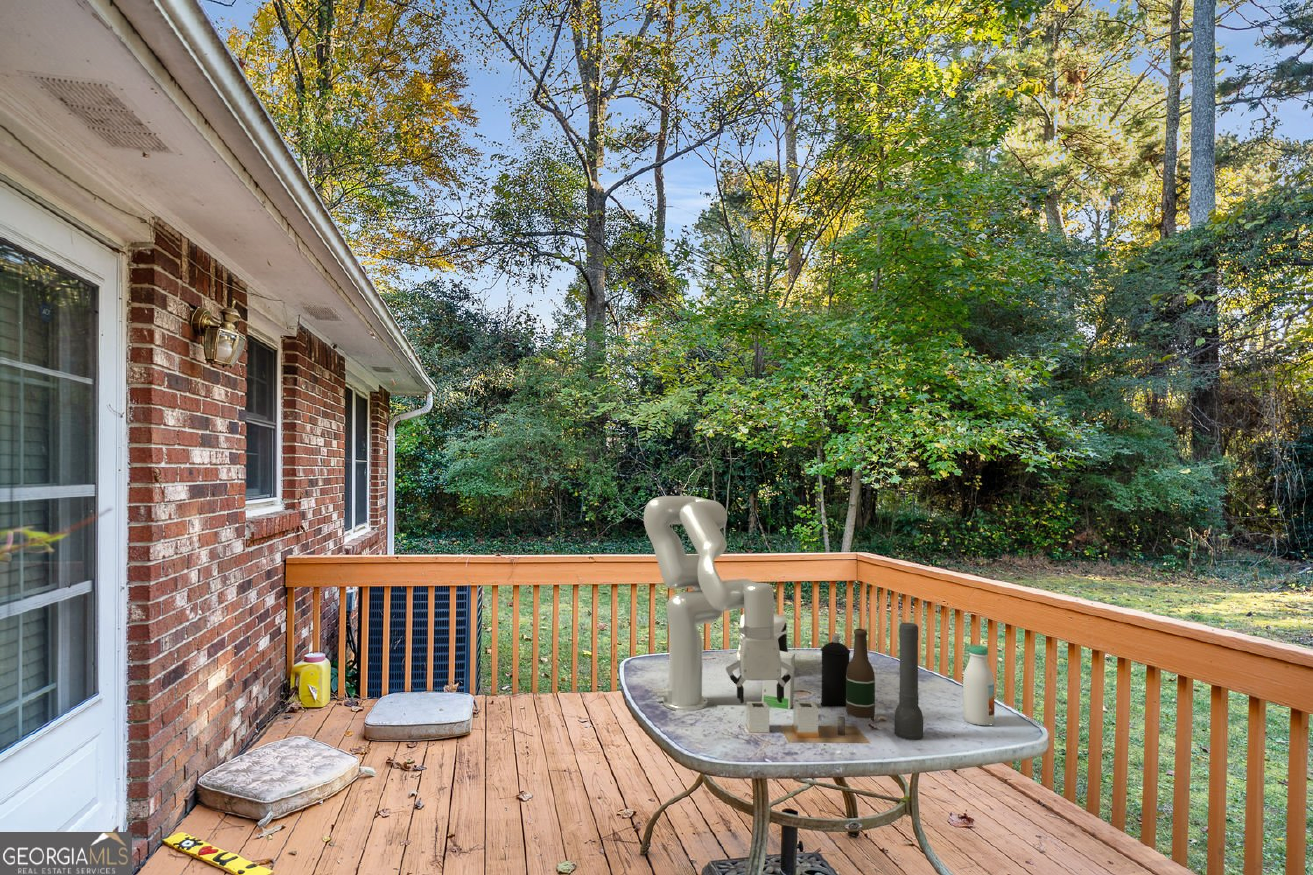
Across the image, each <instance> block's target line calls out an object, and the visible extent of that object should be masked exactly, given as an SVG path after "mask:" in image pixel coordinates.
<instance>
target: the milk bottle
mask: <svg viewBox="0 0 1313 875" xmlns="http://www.w3.org/2000/svg"><path fill="white" fill-rule="evenodd" d="M968 652H969V653H968V654H969V660H968V663H967V665H966V666H965V669H964V672H963V678H962V679H963V680H962V681H963V682H962V683H963V684H962V717H963V720H964V721H966V722H967V723H969V724H971V725H974V724H977V725H976V726H980V725H990V724H993V725H994V724H995V715H996V714H995V711H996V710H995V679H994V673H993V672H992V670H991V668H990V664H989V663H988V657H989V655H988V652H989V651H988V647H987V646H984V645H976V644H972V645H969V648H968Z"/></svg>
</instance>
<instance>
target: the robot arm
mask: <svg viewBox="0 0 1313 875" xmlns="http://www.w3.org/2000/svg"><path fill="white" fill-rule="evenodd" d="M727 513H728V512H727V511H726V509H725V507H724V506H723V504H721V503H720V502H718V501H716V500H713V499H707V498H702V497H699V496H693V495H663V496H657V497H655V498H652V499H651V500H649V501H648V502H647V504H646V506H645V508H644V513H643V525H644V527H645V528H644V529H645V531H646V533H647V535H648V538H649V541H650V542H651V544H652V546H653V547H652V548H653V550H654V553H655V558H656V562H657V565H658V568H659V570H660V575H661V578H662V581H663V583H664V585H665V587H666V588H668V589H670V590H680V589H681V590H683V589H689V588H692V589H693V590H689V591H683V592H678V593H676V594H674V595H672V596H671V597H670V598H668V601H667V602H666V603H667V604H666V608H665V609H666V617H667V622H668V634H669V636H668V637H669V638H668V639H669V640H668V641H669V645H668V647H669V648H668V649H669V654H668V655H669V656H668V659H669V662H668V684H667V685H666V686H667V687H663V688H652V696H653V697H656V698H659V699H662V698H663V702H662V704H663V706H665V707H666V708H668V709H670V710H672V711H673V710H674V711H680V712H681V711H683V712H684V711H685V712H692V711H700V710H702V709H704V708H706V707H707V706H708V699H707V698H706V697H704V696H703V656H704V655H703V647H704V645H703V637H702V635H701V633H700V631H699V628H698V626H699V625H702V624H703V625H704V624H708V623H714V622H716V621H718V620H719V619H720V618H721V616H722V615H723V612H725V611H732V610H736V609H738V610H739V609H743V612H744V613H743V614H744V627H743V628H740V627H739V628H738V634H739V635H740V633H742V634H744V635H745V637H742V641H741V649H740V660H739V661H736V662H734V663H732V664H730V665H728V666H726V668H725V671H726V673H727V674H728V676H729V677H728V678H730V680H731V681H732V682H733V683H734V684H735V686H736V697H737V700H739V702H740V704H744V703H745V696H744V695H745V694H744V690H745V688H744V686H743V685H744V684H745V682H746V681H763V680H777V681H778V683H777V700H778V702H780V703H782V698H784V686H785V684H786V683H787V682H788V681H789V680H790V679H791V676H792V674H793V672H794V673H795V671H794V668H793V667H792V666H791V665H789V664H787V663H785V662H783V661H781V658H780V649H779V643H778V639H777V638H776V637H774V614H775V611H774V610H775V605H774V604H775V602H774V601H775V600H774V597H775V596H774V594H775V593H774V588H773V586H772V585H771V584H770V583H766V582H757V581H753V580H750V579H747V578H739V579H729V580H722V579H721V577H720V576H719V573H718V571H717V569H716V565H715V560H716V559H717V558H719V557H720V556H721V555H722V554H724V552H725V551H726V549H727V547H728V543H727V540H726V539H725V537H724V535H723V533H722V532H721V529H723V528H724V527H725V526H726V524H727V521H728V514H727ZM671 525H682V526H683V528H684V530H685V532H686V534H687V536H688V537H689V540H690V541H691V543H692V545H693V547H694V549H695V551H696V553H697V554H687V553H686V552H685V549H684V546H683V543H682V540H681V538H680V536H679V535H678V533H677V532H676V531H675V530H674V529H673V528H672V527H671ZM781 667H783V668H785V669H786V670H787V672H786V674H785V675H784V676H783V677H782V678H781ZM737 669H739V675H738V677H737V676H736V675H735V674H734V671H735V670H737Z"/></svg>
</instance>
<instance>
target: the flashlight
mask: <svg viewBox="0 0 1313 875" xmlns="http://www.w3.org/2000/svg"><path fill="white" fill-rule="evenodd" d="M898 627H899V628H898V630H899V631H898V632H899V633H898V636H899V637H898V639H899V691H898V701H899V702H898V705H897V706H896V708H895V711H894V718H893V719H894V721H893V723H894V724H893V726H894V728H893V734H894V735H895V736H897V737H898V738H901V739H903V740H907V741H920V740H923V739H924V715H923V712H922V710H921V708H920V706H919V626H918V624H916V623H913V622H900V624H899V626H898Z"/></svg>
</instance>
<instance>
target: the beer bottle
mask: <svg viewBox="0 0 1313 875" xmlns="http://www.w3.org/2000/svg"><path fill="white" fill-rule="evenodd" d="M853 634H854V640H853V653H852V658H851V660H849V664H848V667H847V672H846V707H845V711H846V714H847V715H848V716H851V717H854V718H855V719H856V718H857V719H870V720H871V721H872V722H875V719H876V718H875V716H876V677H875V676H876V675H875V671H874V668H873V666H872V664H871V662H870V661H869V656H868V655H869V654H868V640H867V639H868V638H867V636H868V634H869V633H868V631H867V629H865V628H858V627H857V628H854V630H853Z"/></svg>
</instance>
